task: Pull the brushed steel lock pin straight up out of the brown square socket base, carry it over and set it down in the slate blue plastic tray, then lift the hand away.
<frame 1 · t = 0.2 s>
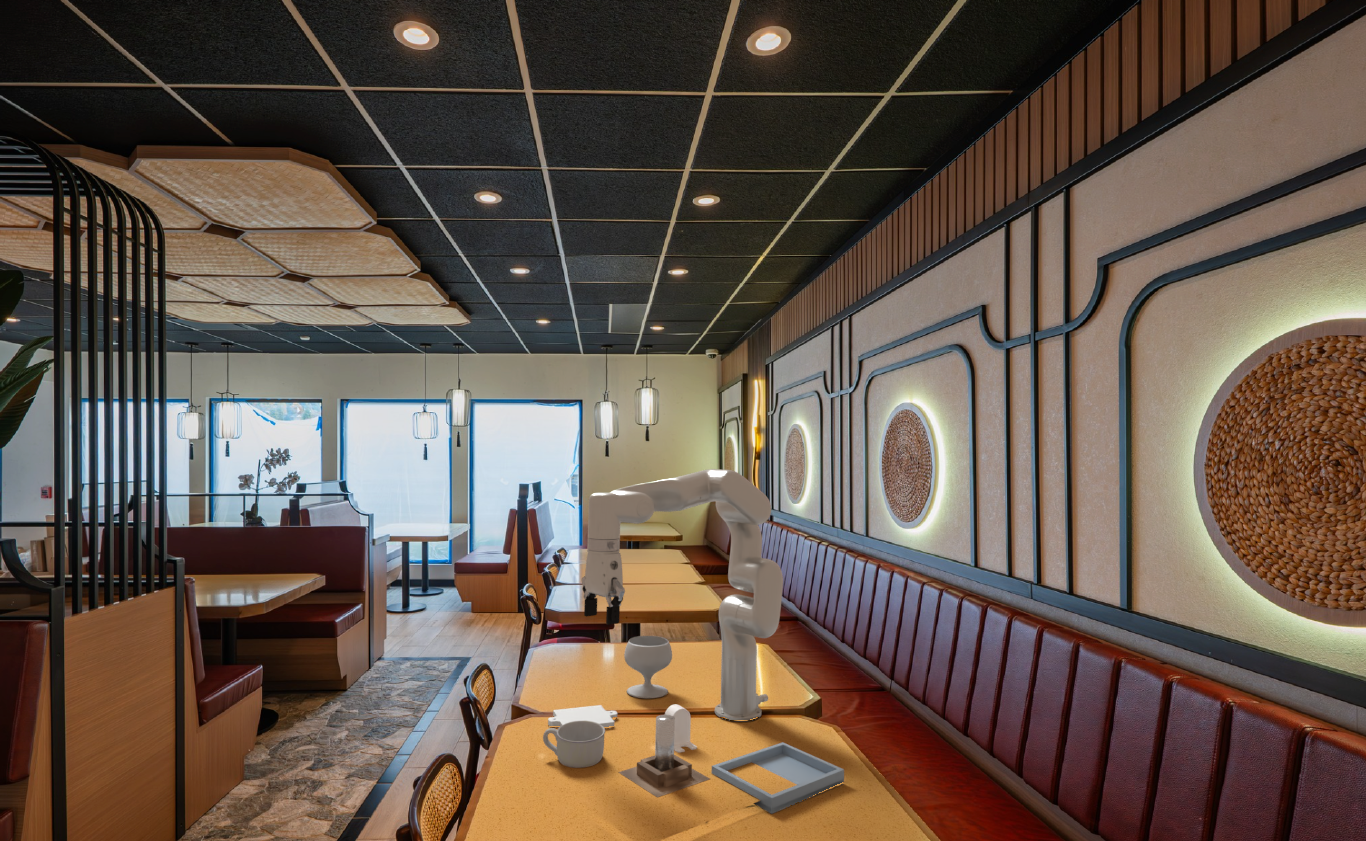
hand: (601, 619, 169), 31 cm above the table, tool pointing down, fingers open, 9 cm apart
tray: (777, 782, 156), on the table
chalice: (647, 693, 212), on the table
brown square socket base: (663, 782, 154), on the table
cable organizer: (677, 750, 172), on the table
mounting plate: (583, 724, 188), on the table
lock pin: (664, 775, 154), point 1 cm above the table, touching brown square socket base
teacup: (573, 765, 162), on the table
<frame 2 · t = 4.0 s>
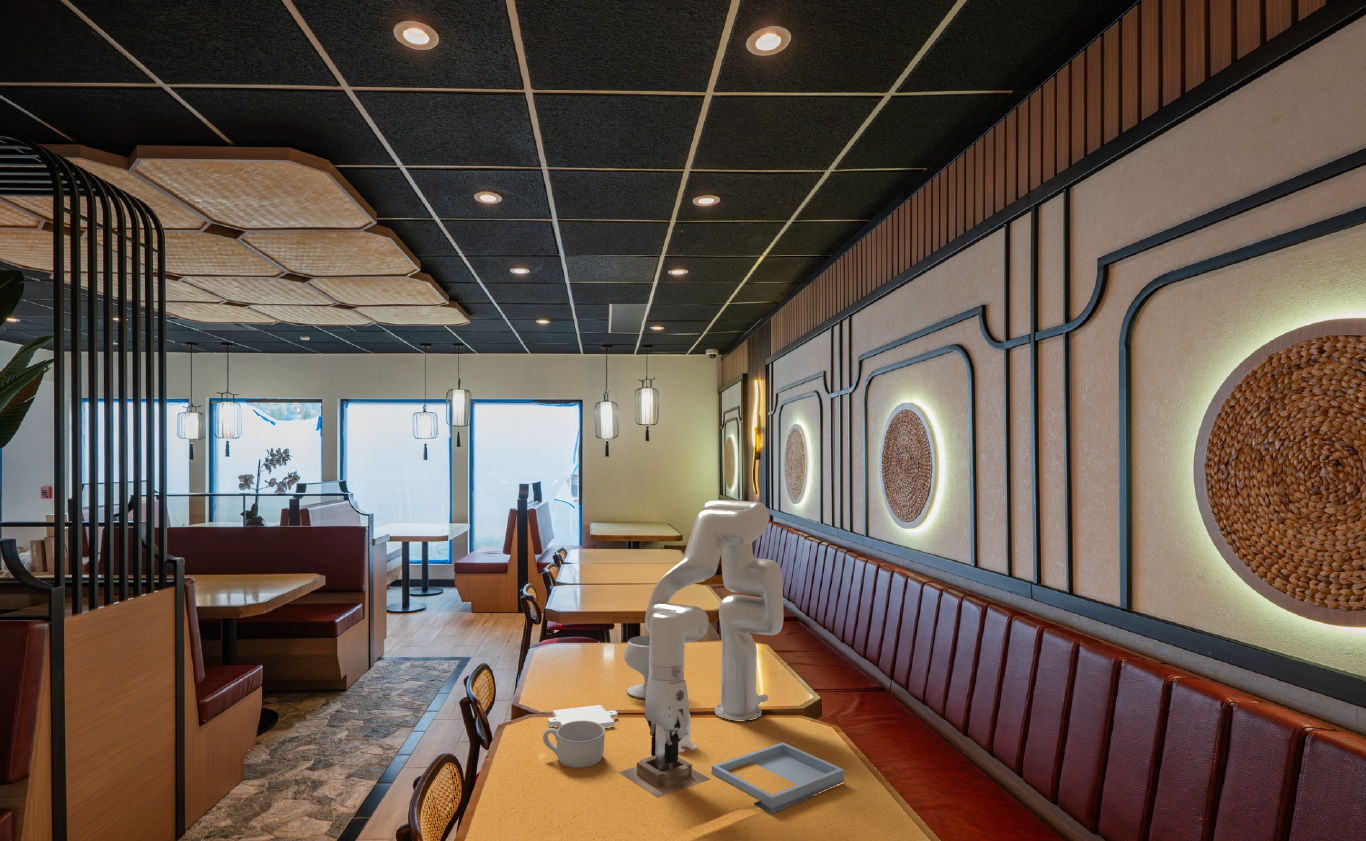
hand: (664, 757, 155), 5 cm above the table, tool pointing down, fingers closed on lock pin, 4 cm apart
lock pin: (664, 775, 154), point 1 cm above the table, touching gripper, brown square socket base
everything else where it was.
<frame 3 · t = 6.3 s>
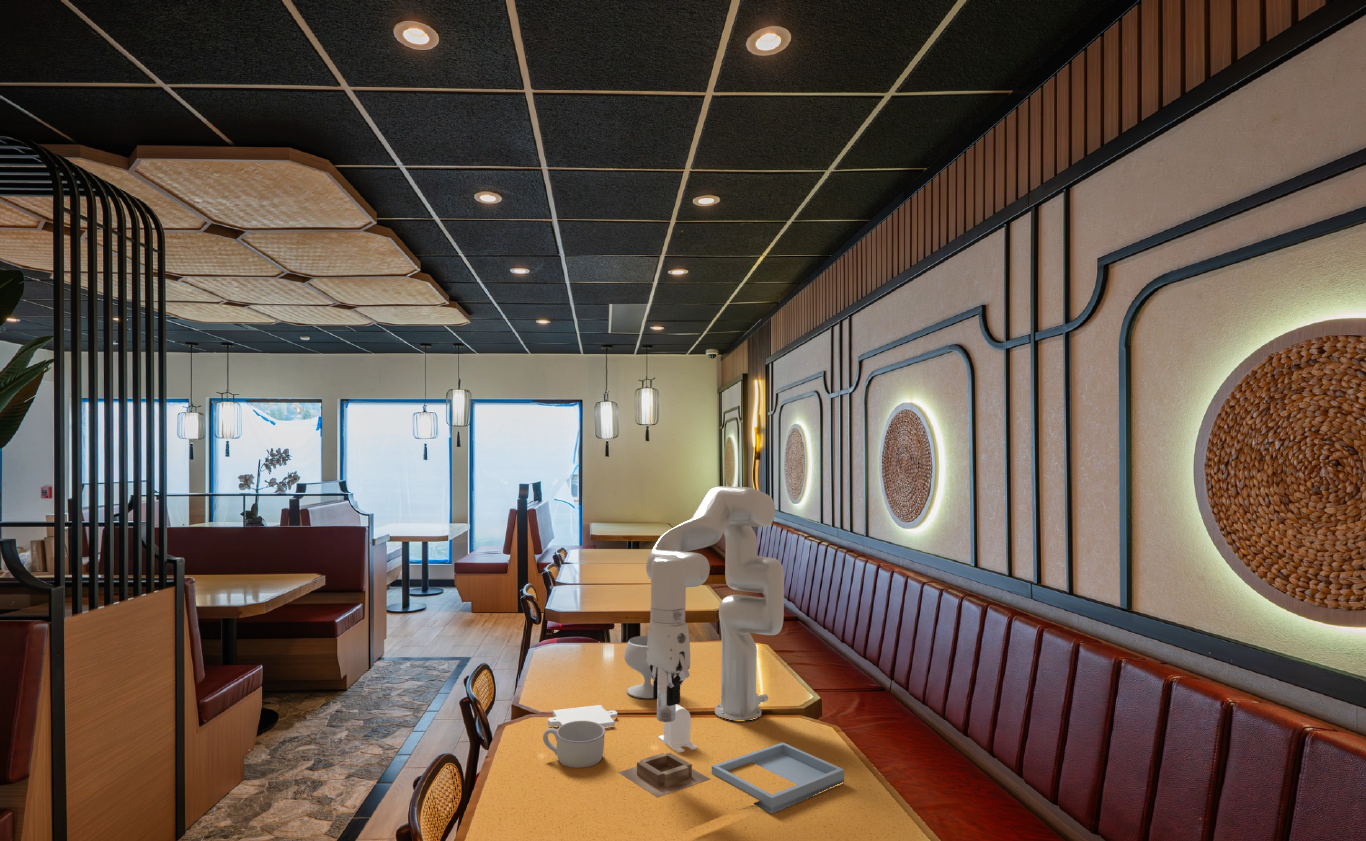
hand: (666, 700, 155), 17 cm above the table, tool pointing down, fingers closed on lock pin, 4 cm apart
lock pin: (666, 718, 155), point 13 cm above the table, touching gripper
everything else where it was.
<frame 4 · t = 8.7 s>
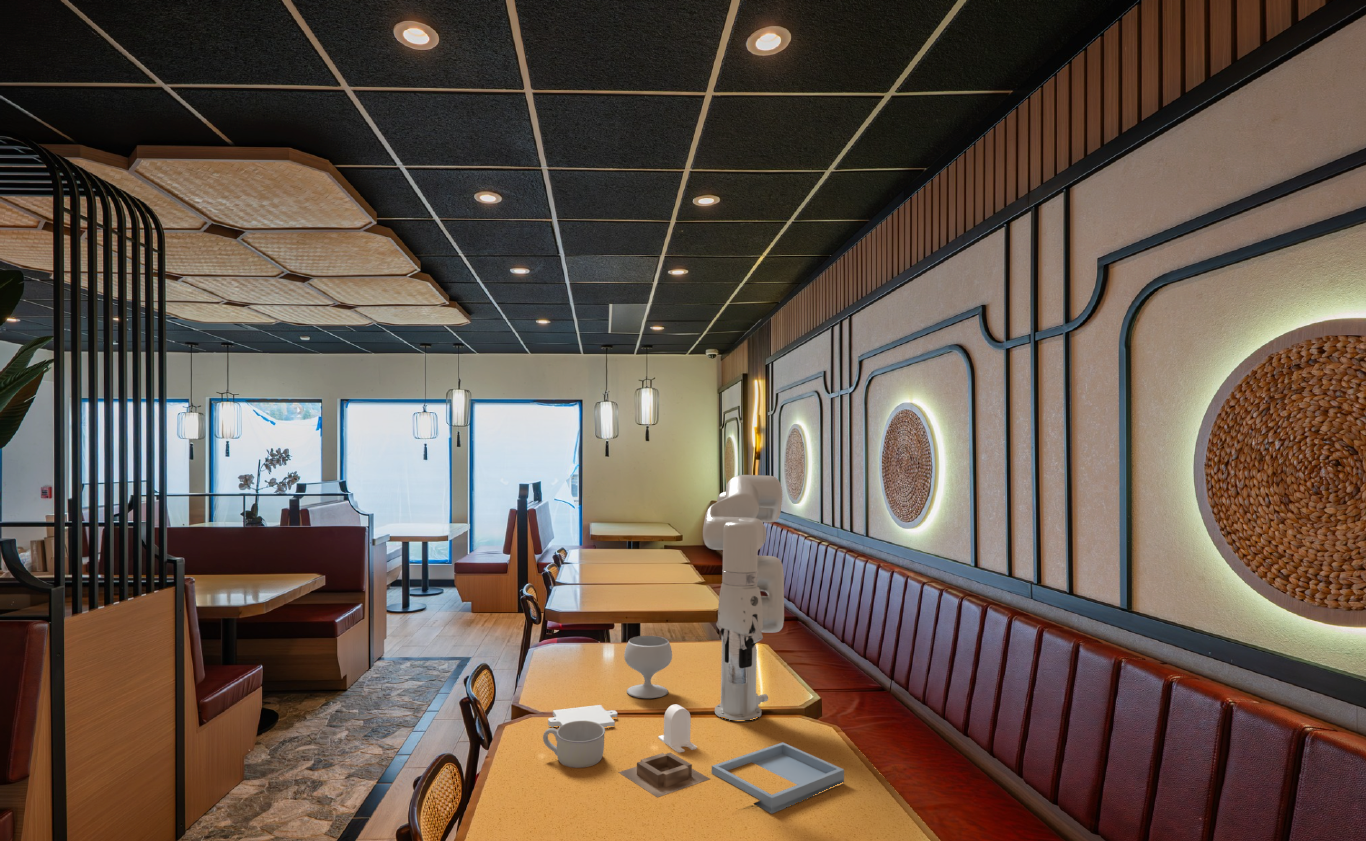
hand: (738, 663, 156), 25 cm above the table, tool pointing down, fingers closed on lock pin, 4 cm apart
lock pin: (737, 681, 156), point 21 cm above the table, touching gripper
everything else where it was.
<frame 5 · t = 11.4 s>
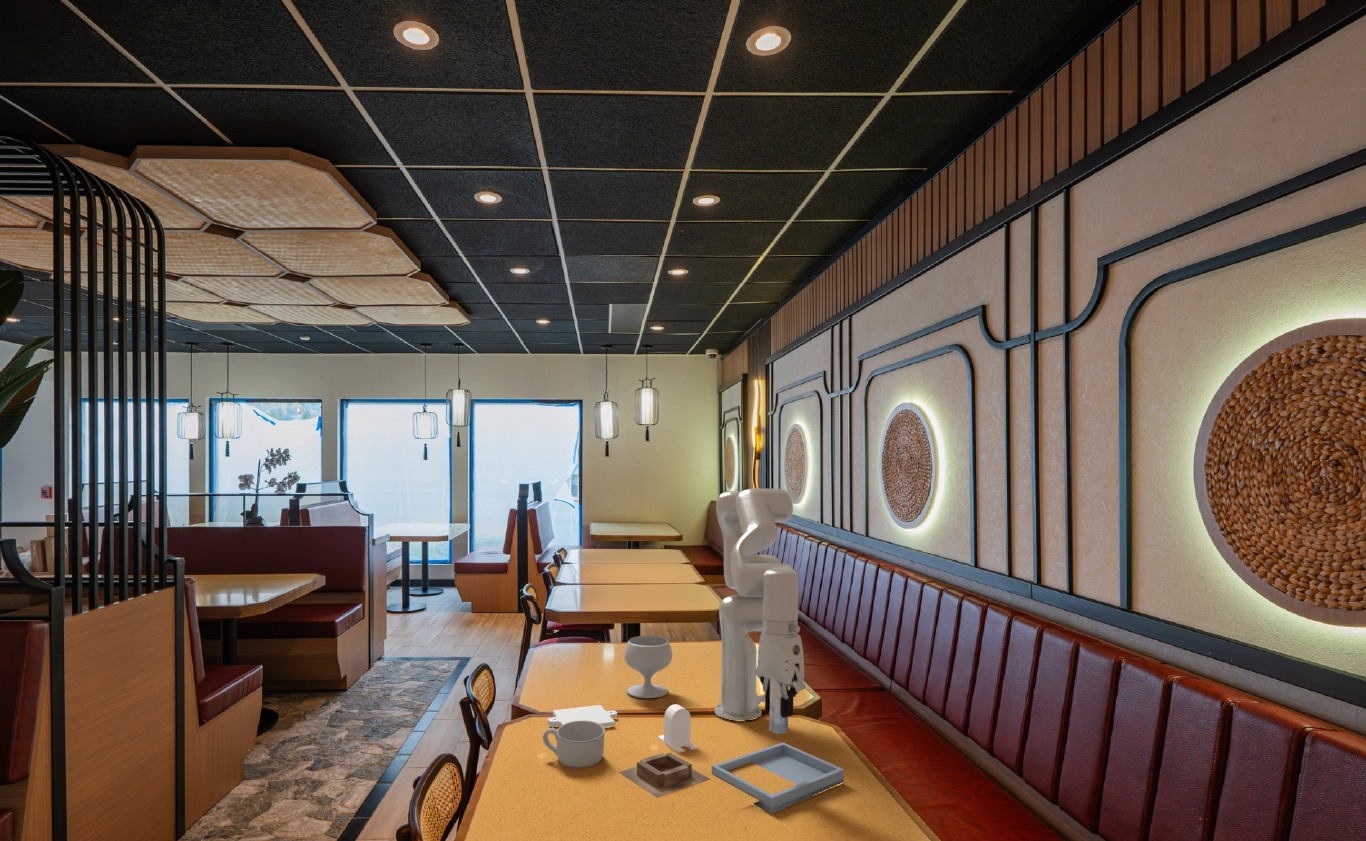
hand: (778, 712, 156), 15 cm above the table, tool pointing down, fingers closed on lock pin, 4 cm apart
lock pin: (778, 730, 156), point 11 cm above the table, touching gripper
everything else where it was.
when the fingers open (6 cm above the table, at t = 13.7 s): lock pin drops 1 cm, resting on tray.
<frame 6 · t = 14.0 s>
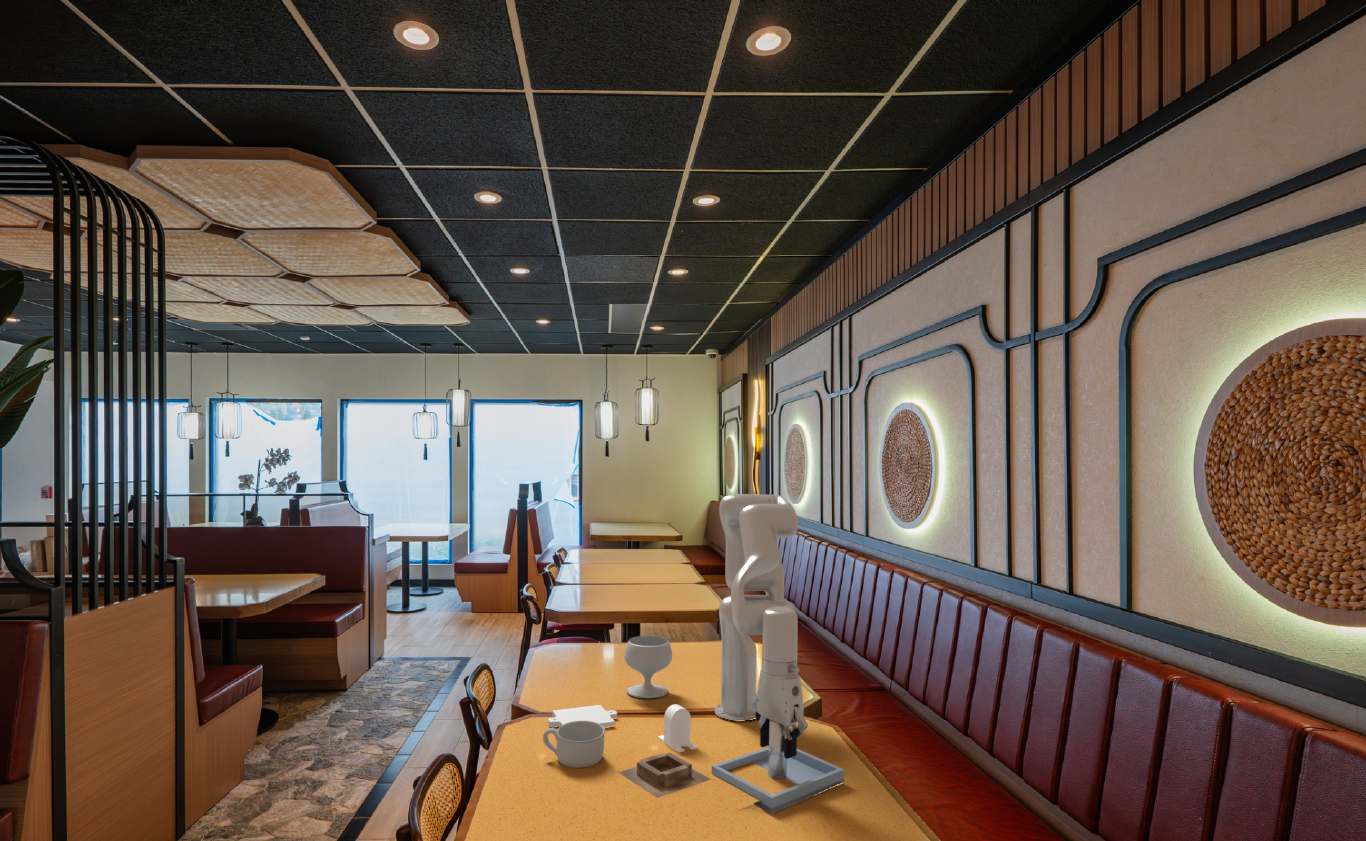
hand: (778, 750, 156), 7 cm above the table, tool pointing down, fingers open, 6 cm apart
lock pin: (777, 776, 156), point 1 cm above the table, touching tray
everything else where it was.
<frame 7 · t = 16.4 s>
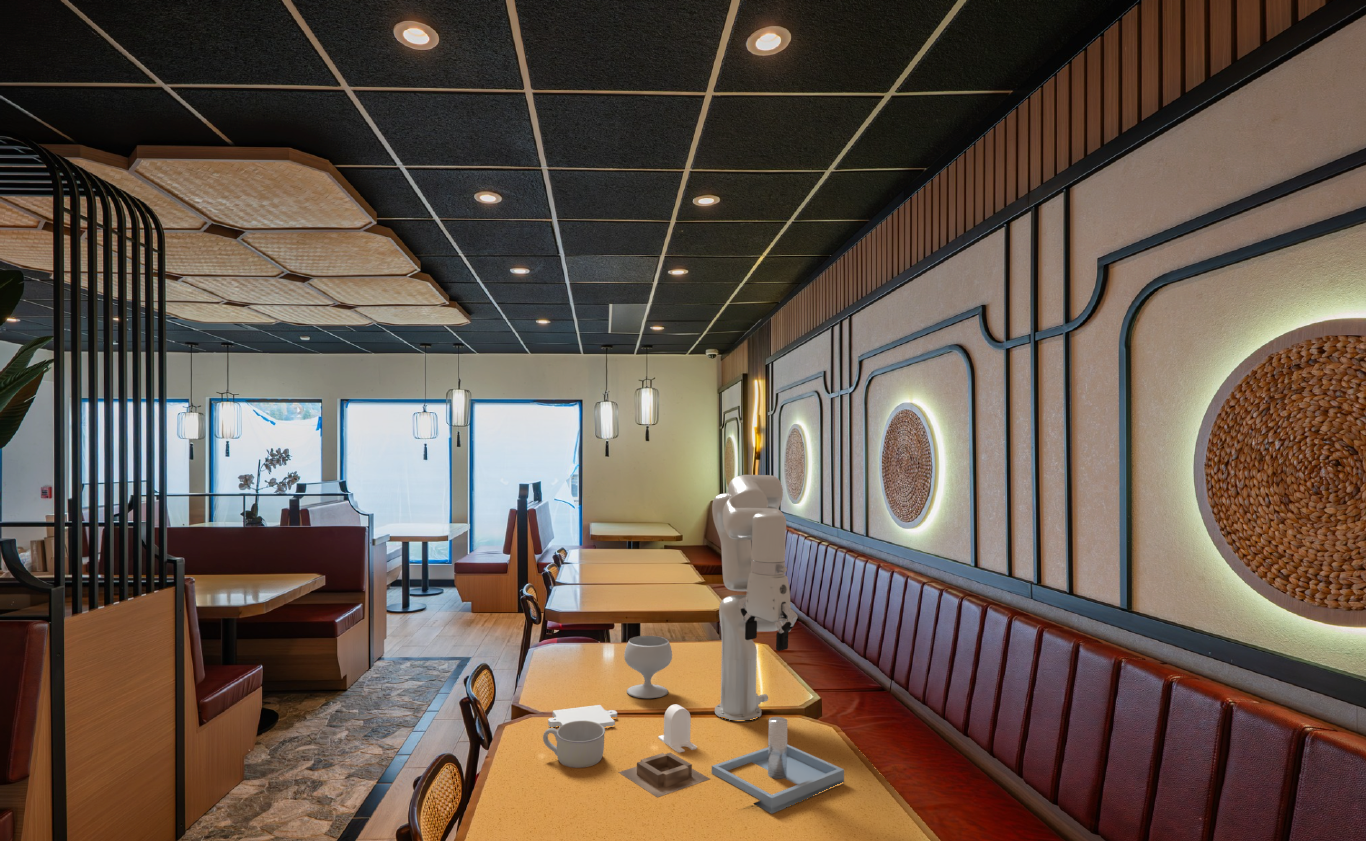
hand: (766, 644, 163), 28 cm above the table, tool pointing down, fingers open, 9 cm apart
nothing on the table moved.
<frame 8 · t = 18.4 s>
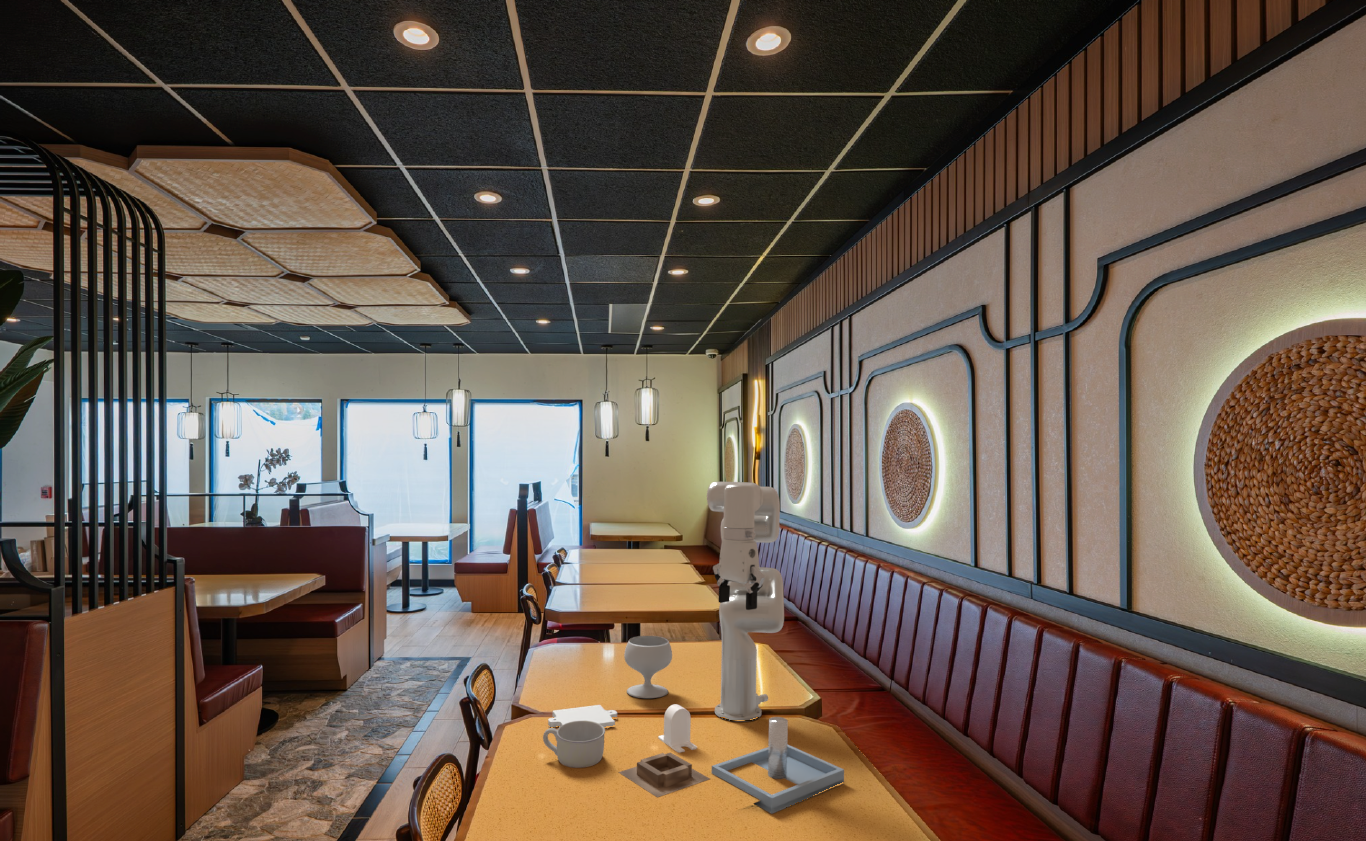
hand: (737, 605, 177), 33 cm above the table, tool pointing down, fingers open, 9 cm apart
nothing on the table moved.
at the end: lock pin inside the target area on the tray (0.1 cm from its centre), point 1.0 cm above the tray's base; lock pin touching tray; the gripper is holding nothing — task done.
